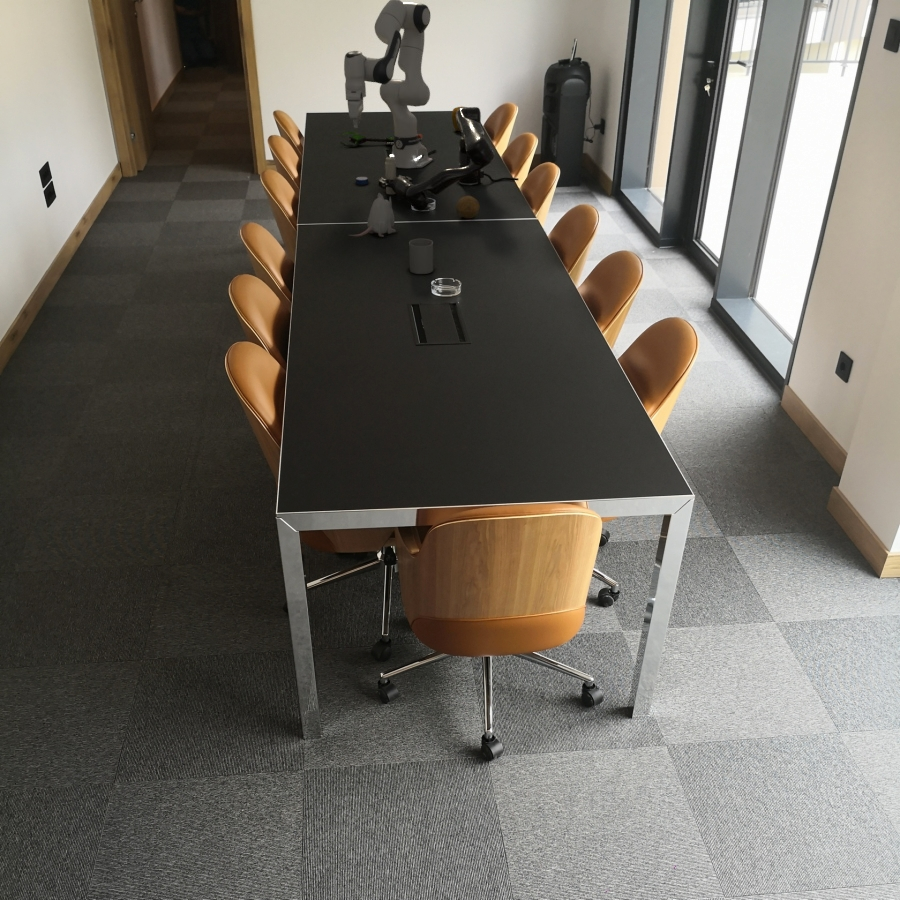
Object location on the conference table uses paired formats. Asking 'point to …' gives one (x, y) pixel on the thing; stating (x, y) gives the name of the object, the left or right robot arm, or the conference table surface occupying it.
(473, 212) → the potato
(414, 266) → the cup
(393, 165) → the jar
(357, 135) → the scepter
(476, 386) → the conference table surface
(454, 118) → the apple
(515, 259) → the conference table surface
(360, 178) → the lid
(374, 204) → the toy
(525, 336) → the conference table surface
